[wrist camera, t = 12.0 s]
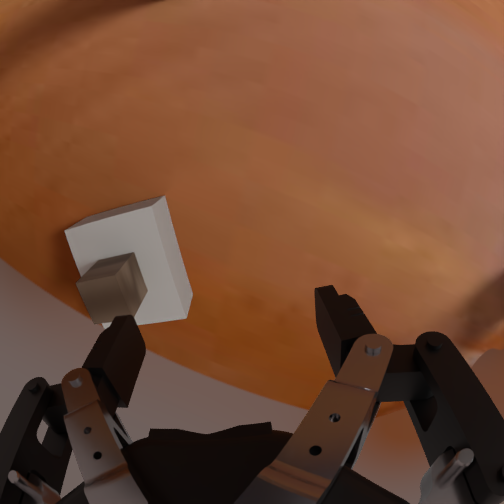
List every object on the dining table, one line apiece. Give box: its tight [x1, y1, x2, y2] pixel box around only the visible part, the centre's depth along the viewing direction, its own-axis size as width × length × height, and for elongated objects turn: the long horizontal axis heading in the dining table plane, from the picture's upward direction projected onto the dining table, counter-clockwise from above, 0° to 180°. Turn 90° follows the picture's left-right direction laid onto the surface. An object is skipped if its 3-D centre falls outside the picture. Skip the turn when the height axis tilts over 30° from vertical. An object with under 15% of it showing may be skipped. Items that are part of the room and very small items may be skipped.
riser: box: [65, 196, 193, 329], centre depth 35 cm, size 14×12×6 cm
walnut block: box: [76, 252, 148, 324], centre depth 29 cm, size 5×5×6 cm
